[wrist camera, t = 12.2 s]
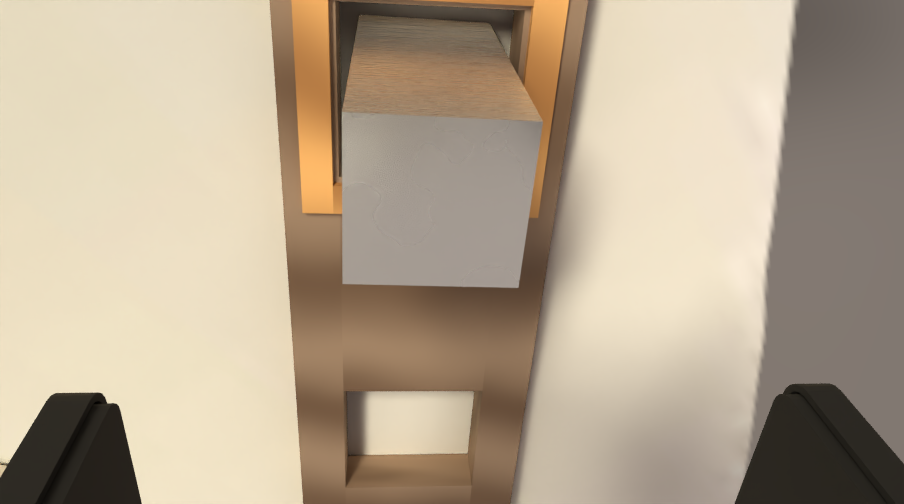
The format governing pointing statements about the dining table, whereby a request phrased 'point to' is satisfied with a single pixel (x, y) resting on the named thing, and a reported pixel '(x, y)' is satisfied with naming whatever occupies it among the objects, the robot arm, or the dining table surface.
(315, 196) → the board
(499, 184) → the square peg
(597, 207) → the dining table surface
